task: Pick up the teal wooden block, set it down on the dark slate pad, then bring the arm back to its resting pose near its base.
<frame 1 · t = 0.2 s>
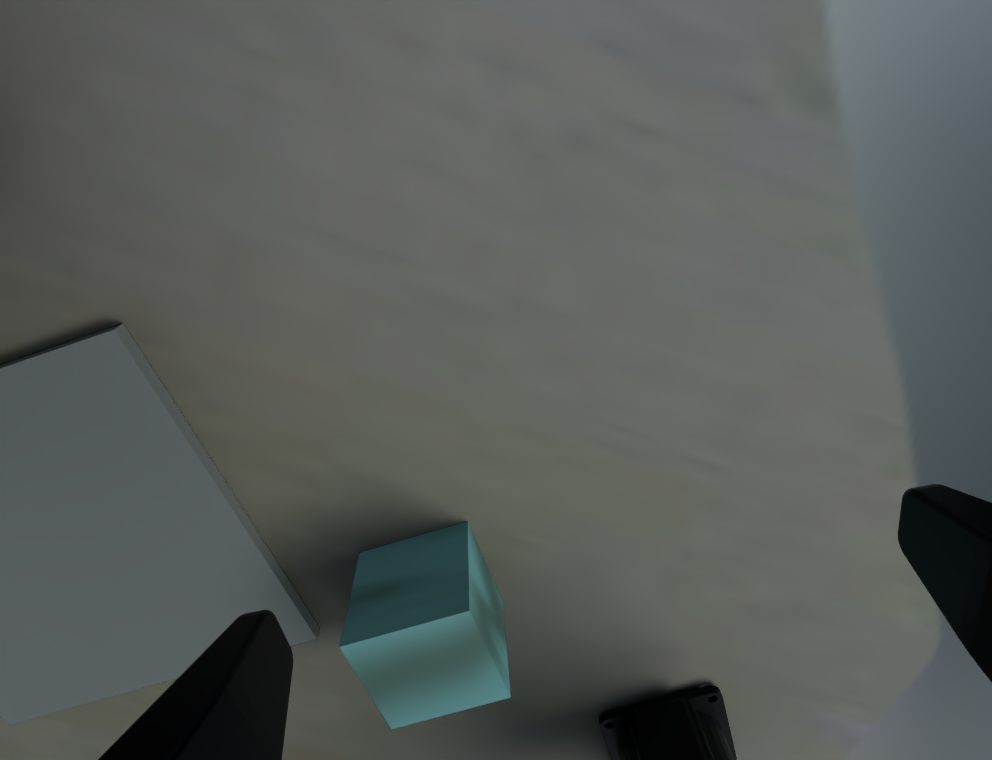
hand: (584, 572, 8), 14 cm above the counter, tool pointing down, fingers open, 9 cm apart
teal block: (433, 576, 27), on the counter
slate pad: (61, 550, 25), on the counter
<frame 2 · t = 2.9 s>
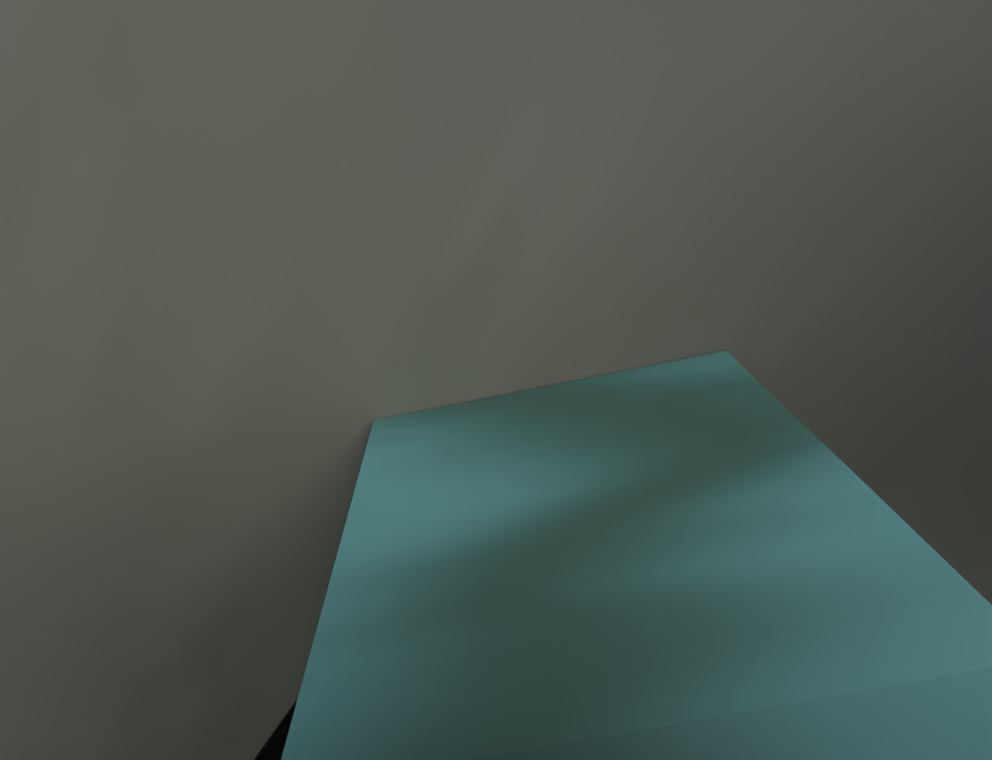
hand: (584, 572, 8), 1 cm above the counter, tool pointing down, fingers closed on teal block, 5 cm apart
teal block: (572, 525, 9), on the counter, touching gripper
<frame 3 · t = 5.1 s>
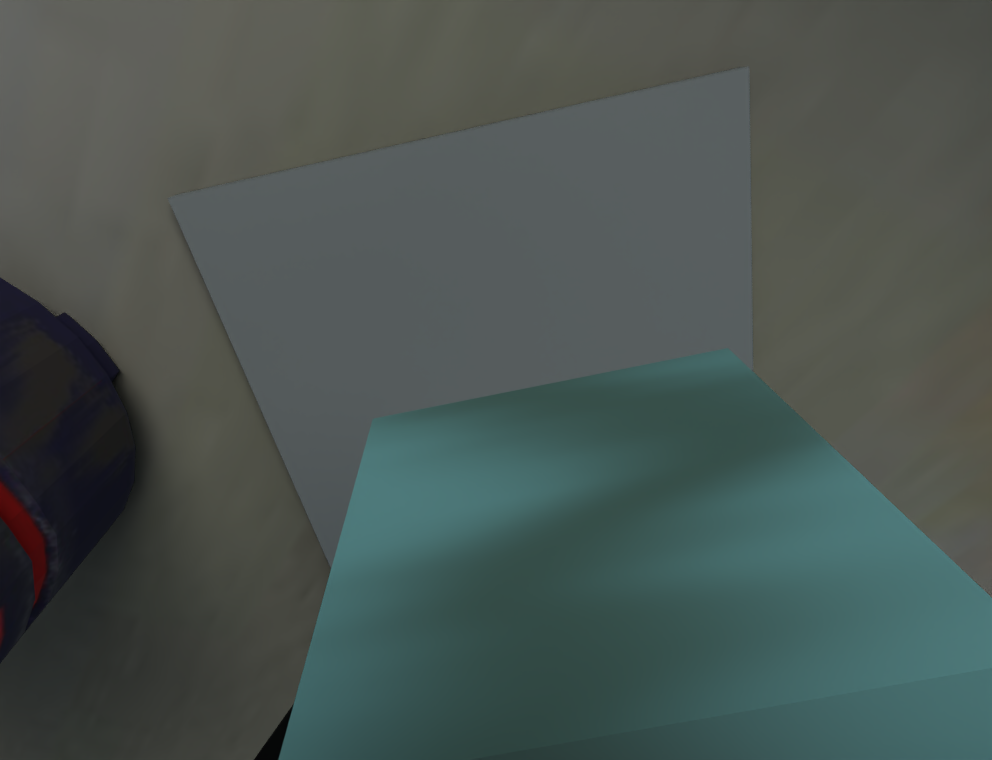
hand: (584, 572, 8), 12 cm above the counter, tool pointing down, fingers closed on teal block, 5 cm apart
teal block: (573, 524, 9), point 11 cm above the counter, touching gripper
slate pad: (506, 383, 20), on the counter
when the fingers open (3 cm above the counter, at t = 7.7 s): teal block drops 1 cm, resting on slate pad.
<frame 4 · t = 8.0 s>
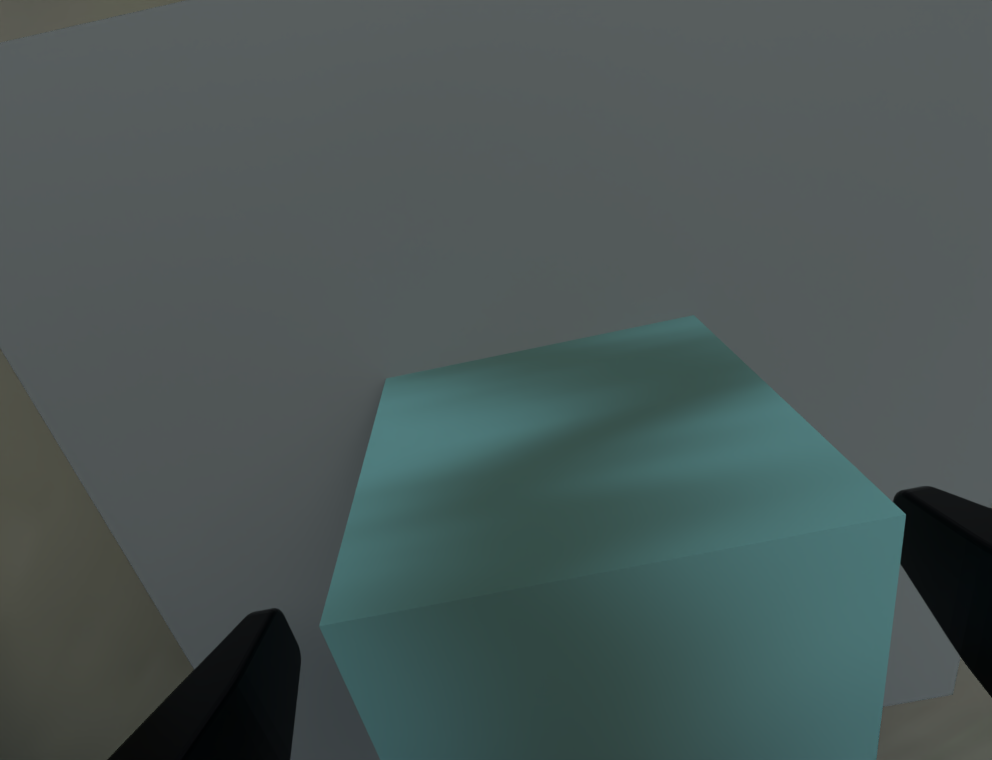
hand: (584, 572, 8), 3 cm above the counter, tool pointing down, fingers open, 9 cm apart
teal block: (561, 474, 11), point 1 cm above the counter, touching slate pad
slate pad: (554, 459, 11), on the counter
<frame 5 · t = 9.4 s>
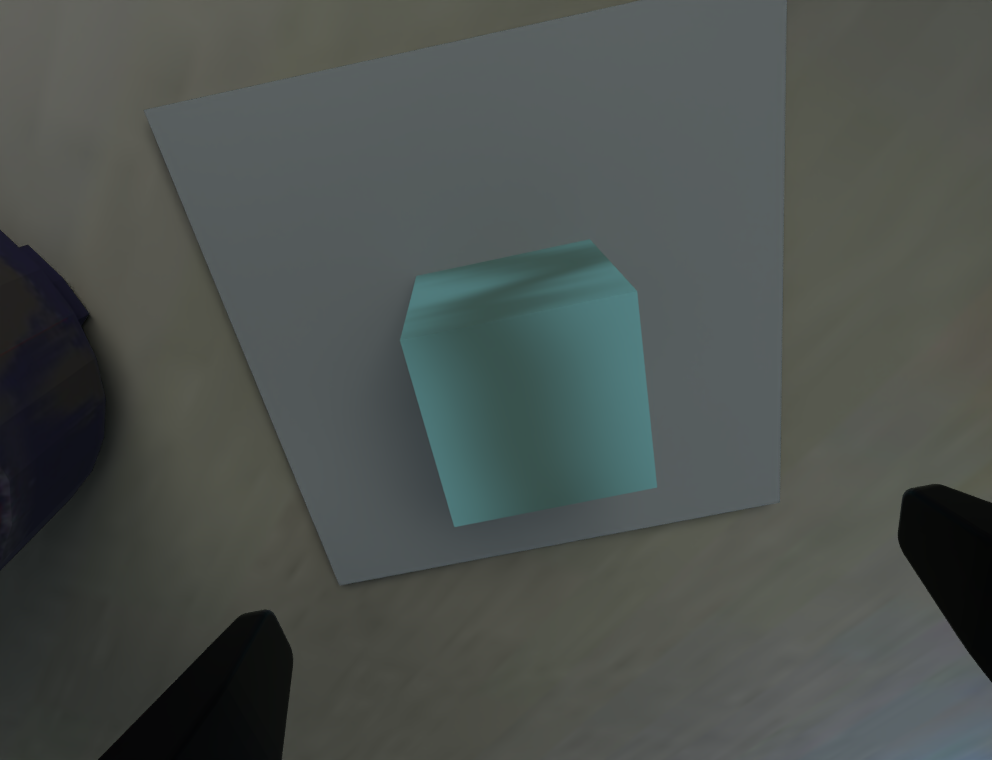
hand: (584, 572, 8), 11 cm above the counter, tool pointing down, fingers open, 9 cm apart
teal block: (518, 338, 18), point 1 cm above the counter, touching slate pad
slate pad: (515, 333, 19), on the counter
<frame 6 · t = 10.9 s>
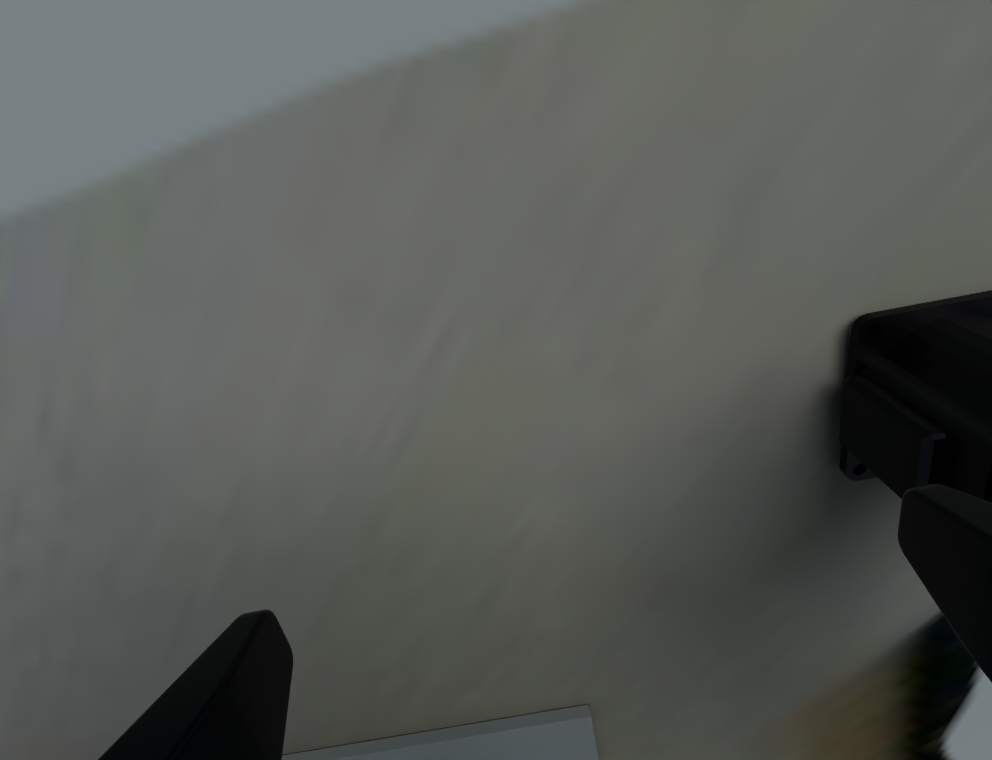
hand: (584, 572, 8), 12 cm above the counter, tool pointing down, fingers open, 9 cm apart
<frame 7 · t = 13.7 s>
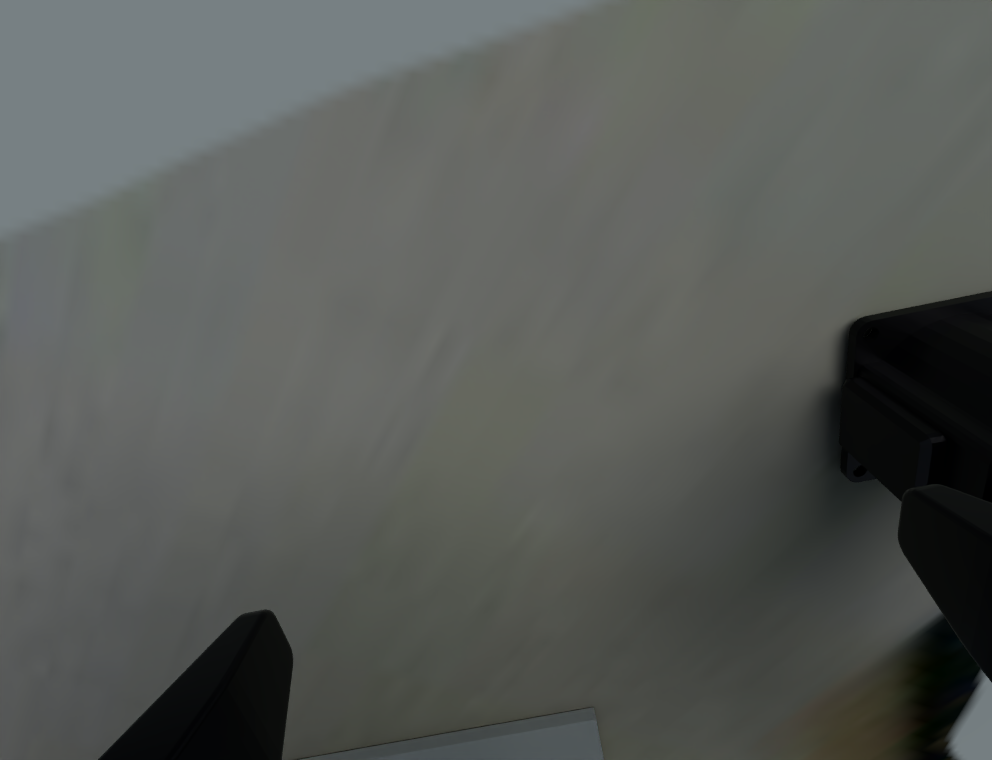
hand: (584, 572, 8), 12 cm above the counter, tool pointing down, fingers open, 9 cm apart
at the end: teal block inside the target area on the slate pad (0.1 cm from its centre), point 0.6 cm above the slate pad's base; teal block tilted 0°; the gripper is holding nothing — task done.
